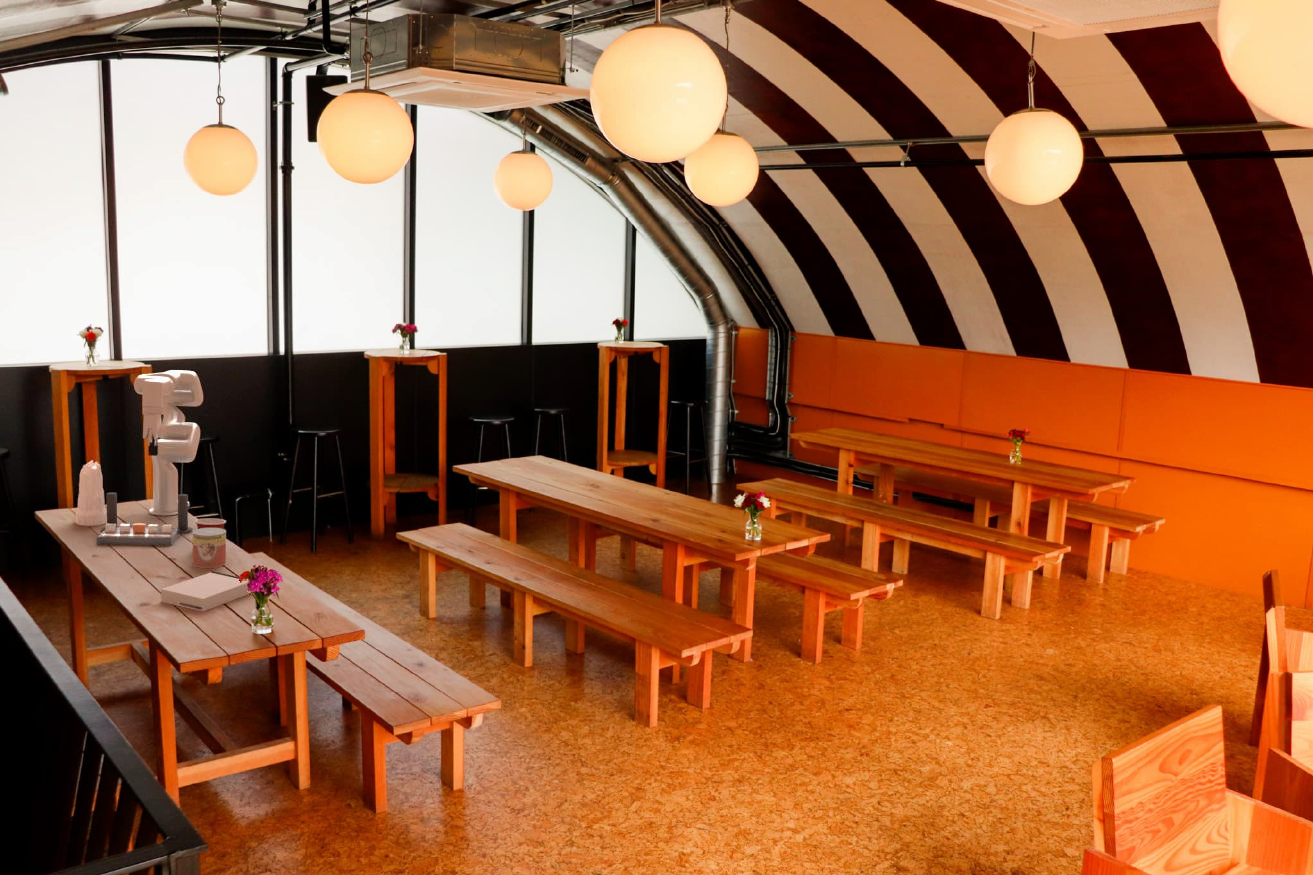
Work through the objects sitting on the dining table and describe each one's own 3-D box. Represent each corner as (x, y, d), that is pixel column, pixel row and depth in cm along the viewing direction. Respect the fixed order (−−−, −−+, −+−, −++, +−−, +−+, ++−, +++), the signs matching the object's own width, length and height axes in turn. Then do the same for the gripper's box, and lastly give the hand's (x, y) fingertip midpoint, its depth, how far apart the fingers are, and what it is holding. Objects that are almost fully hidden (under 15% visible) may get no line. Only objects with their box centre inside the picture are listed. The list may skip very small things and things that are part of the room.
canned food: (190, 567, 373) (190, 535, 371) (195, 558, 384) (195, 527, 382) (223, 567, 376) (224, 535, 374) (227, 558, 387) (228, 527, 385)
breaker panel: (107, 534, 405) (107, 519, 404) (179, 535, 411) (179, 520, 410) (97, 544, 392) (96, 529, 391) (171, 545, 398) (171, 530, 397)
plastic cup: (231, 548, 400) (231, 517, 398) (216, 555, 390) (216, 524, 388) (204, 545, 401) (204, 515, 399) (189, 552, 390) (189, 521, 389)
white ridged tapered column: (96, 526, 414) (96, 465, 410) (70, 524, 414) (69, 463, 410) (111, 520, 425) (111, 460, 421) (85, 518, 425) (84, 458, 421)
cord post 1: (118, 527, 416) (117, 490, 413) (124, 531, 411) (124, 494, 409) (99, 529, 411) (98, 492, 408) (105, 533, 406) (105, 496, 403)
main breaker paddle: (134, 530, 401) (134, 523, 401) (145, 531, 402) (145, 523, 402) (132, 532, 399) (132, 524, 399) (144, 532, 400) (144, 524, 400)
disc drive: (253, 594, 353) (253, 580, 352) (203, 612, 332) (203, 597, 331) (212, 584, 359) (212, 571, 358) (160, 602, 338) (160, 588, 337)
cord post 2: (188, 528, 422) (188, 492, 419) (195, 532, 417) (195, 496, 414) (170, 530, 417) (170, 494, 414) (177, 534, 412) (177, 498, 409)
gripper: (147, 407, 421) (147, 451, 424) (138, 412, 407) (138, 458, 410) (167, 407, 423) (167, 452, 426) (158, 413, 408) (158, 459, 411)
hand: (153, 455), depth 418 cm, fingers closed
